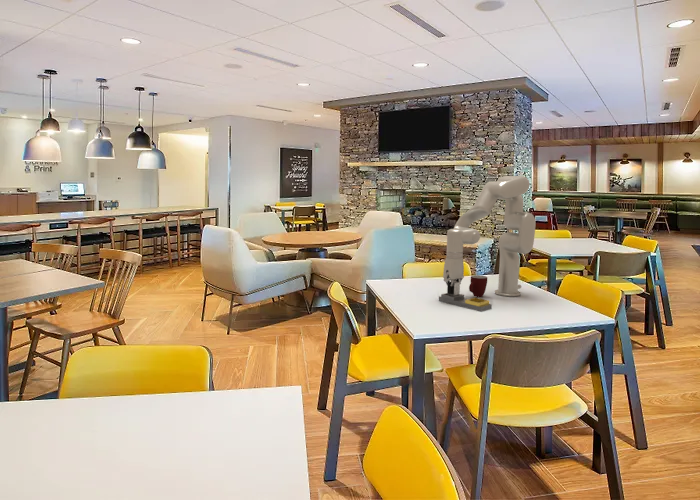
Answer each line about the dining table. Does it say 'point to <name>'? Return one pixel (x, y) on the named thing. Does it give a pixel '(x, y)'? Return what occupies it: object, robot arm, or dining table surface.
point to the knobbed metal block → (455, 289)
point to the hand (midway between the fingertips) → (453, 292)
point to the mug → (478, 285)
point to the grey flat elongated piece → (466, 302)
